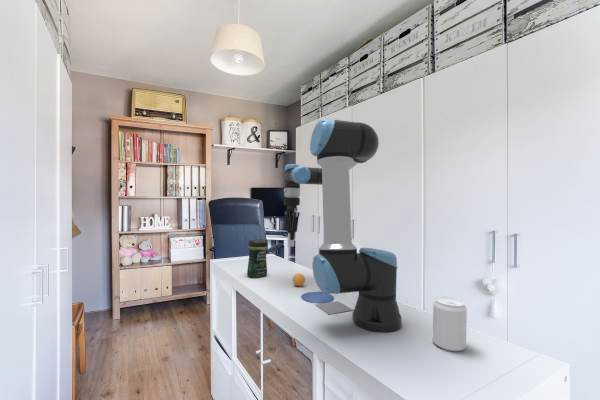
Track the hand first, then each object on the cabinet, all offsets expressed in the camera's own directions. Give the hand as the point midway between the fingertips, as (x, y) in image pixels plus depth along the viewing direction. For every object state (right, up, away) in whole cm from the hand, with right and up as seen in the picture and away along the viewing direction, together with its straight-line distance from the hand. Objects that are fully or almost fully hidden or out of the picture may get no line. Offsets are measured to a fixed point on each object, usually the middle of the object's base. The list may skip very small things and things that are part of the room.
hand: (290, 246), depth 141 cm
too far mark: (+17, -17, -35) cm, 42 cm away
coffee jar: (-17, -16, +7) cm, 24 cm away
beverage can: (+45, -18, -61) cm, 78 cm away
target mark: (+11, -17, -24) cm, 31 cm away
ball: (+4, -14, -9) cm, 17 cm away
